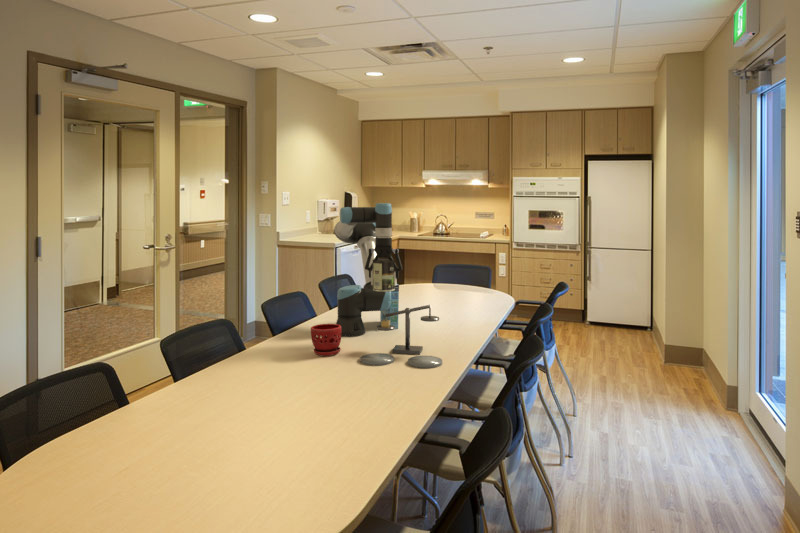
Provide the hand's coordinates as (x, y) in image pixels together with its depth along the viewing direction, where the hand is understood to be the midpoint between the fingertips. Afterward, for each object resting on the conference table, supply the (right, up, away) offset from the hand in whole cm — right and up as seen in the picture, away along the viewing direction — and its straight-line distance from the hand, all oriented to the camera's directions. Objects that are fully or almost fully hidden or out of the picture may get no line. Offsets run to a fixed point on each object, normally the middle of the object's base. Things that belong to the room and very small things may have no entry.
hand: (383, 285), depth 270 cm
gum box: (+2, -22, +36) cm, 42 cm away
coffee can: (0, -2, 0) cm, 3 cm away
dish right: (+18, -31, -33) cm, 48 cm away
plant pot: (-24, -29, -18) cm, 42 cm away
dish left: (-2, -30, -29) cm, 42 cm away
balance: (+11, -28, -15) cm, 34 cm away
